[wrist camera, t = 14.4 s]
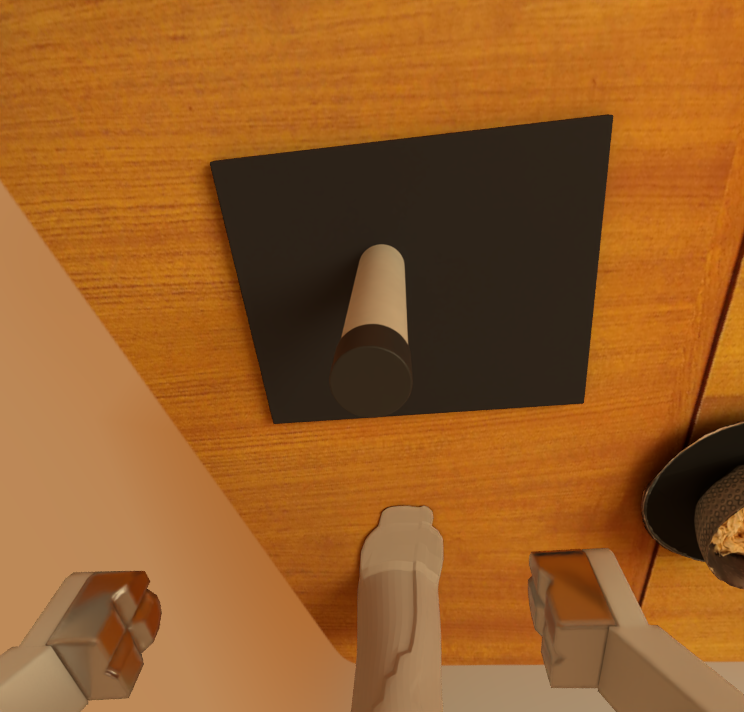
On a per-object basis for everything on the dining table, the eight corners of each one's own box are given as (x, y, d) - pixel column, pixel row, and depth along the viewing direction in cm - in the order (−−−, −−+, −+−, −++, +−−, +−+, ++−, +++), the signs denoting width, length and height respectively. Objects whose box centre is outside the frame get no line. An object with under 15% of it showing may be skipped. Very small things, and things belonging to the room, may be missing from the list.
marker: (360, 292, 31) (335, 420, 18) (354, 244, 29) (322, 349, 17) (408, 287, 30) (415, 415, 18) (403, 239, 29) (409, 342, 17)
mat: (275, 418, 36) (273, 424, 36) (213, 160, 28) (208, 162, 28) (580, 397, 34) (584, 404, 34) (608, 114, 26) (613, 114, 26)
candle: (452, 507, 40) (497, 834, 22) (432, 616, 46) (455, 937, 28) (363, 500, 40) (337, 820, 22) (356, 610, 46) (331, 926, 29)
